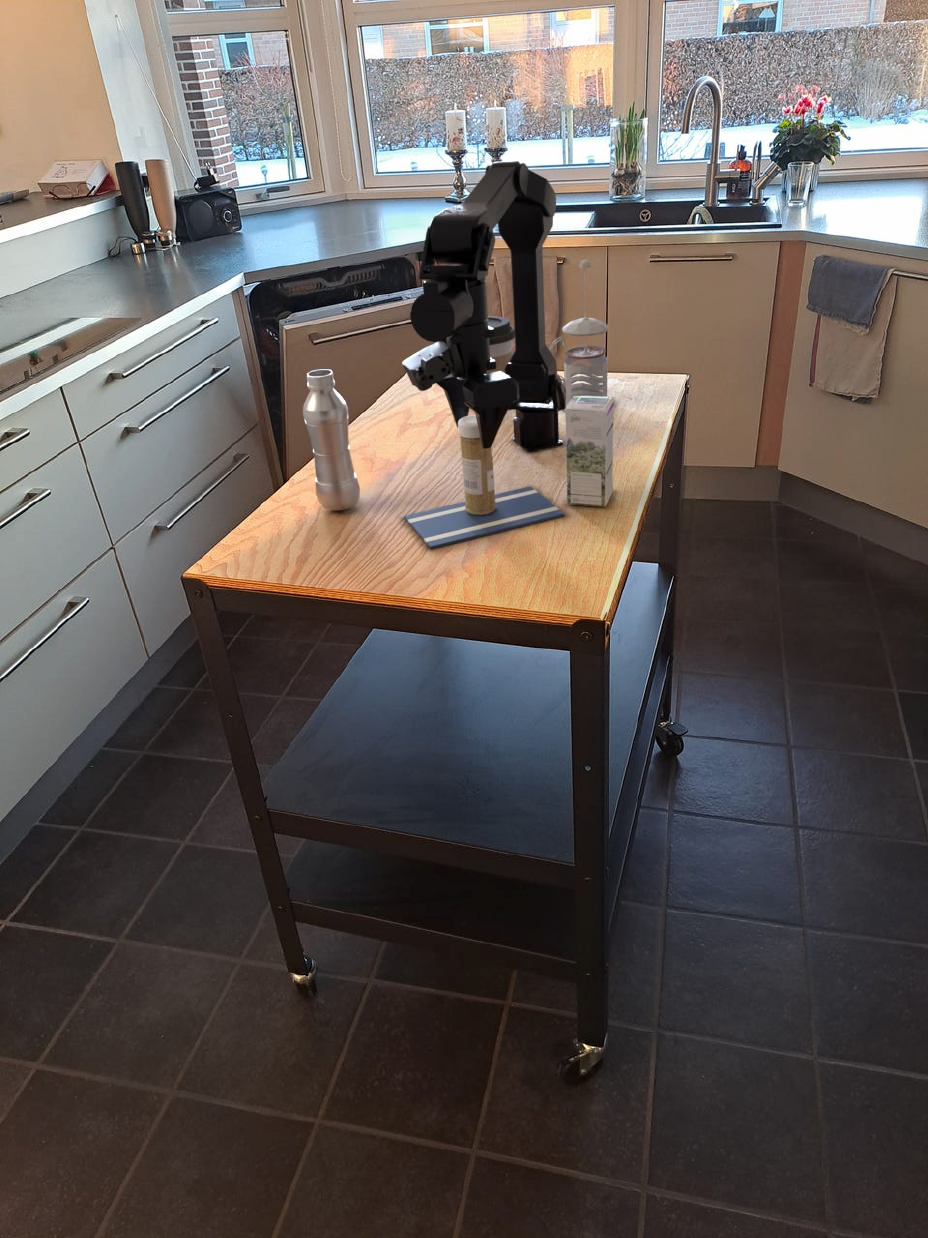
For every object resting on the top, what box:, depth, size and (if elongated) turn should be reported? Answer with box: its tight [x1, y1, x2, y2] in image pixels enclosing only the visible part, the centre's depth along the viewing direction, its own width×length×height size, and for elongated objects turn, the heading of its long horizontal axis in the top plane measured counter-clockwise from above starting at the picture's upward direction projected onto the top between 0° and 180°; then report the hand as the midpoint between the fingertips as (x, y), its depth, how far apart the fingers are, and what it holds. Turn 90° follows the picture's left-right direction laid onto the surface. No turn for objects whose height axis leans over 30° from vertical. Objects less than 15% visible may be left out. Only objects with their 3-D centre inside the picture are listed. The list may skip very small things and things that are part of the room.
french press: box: [548, 259, 610, 412], centre depth 161 cm, size 10×12×25 cm
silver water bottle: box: [302, 368, 361, 511], centre depth 132 cm, size 6×7×20 cm
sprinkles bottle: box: [457, 414, 496, 515], centre depth 128 cm, size 5×5×13 cm
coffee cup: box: [486, 315, 515, 374], centre depth 168 cm, size 11×11×15 cm
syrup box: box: [564, 396, 615, 508], centre depth 129 cm, size 6×6×14 cm
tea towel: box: [403, 485, 565, 550], centre depth 130 cm, size 20×11×1 cm, turn 112°
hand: (473, 437), depth 125 cm, fingers open, 9 cm apart
